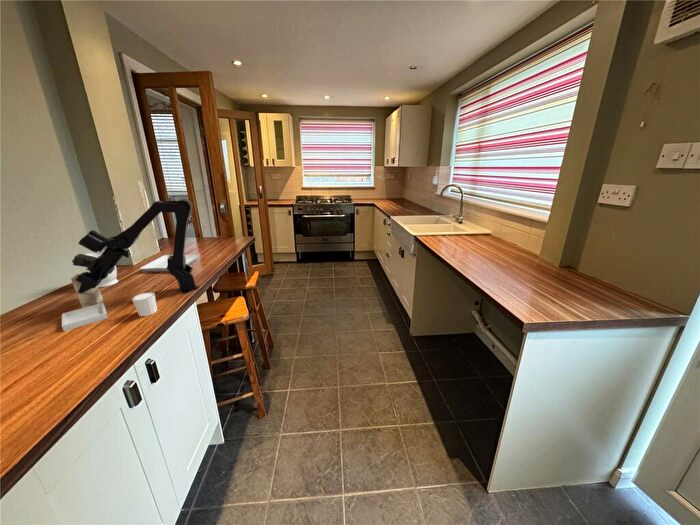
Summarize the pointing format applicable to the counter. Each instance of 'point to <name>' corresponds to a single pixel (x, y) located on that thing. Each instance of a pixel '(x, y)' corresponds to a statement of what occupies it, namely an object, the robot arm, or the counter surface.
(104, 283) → the jar
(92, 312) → the tray
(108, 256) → the robot arm
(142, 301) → the shot glass
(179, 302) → the counter surface
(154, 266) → the salad plate
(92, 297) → the beech block
